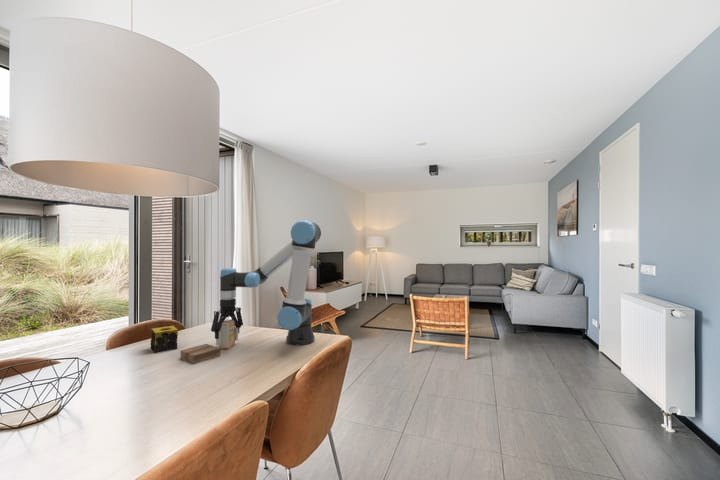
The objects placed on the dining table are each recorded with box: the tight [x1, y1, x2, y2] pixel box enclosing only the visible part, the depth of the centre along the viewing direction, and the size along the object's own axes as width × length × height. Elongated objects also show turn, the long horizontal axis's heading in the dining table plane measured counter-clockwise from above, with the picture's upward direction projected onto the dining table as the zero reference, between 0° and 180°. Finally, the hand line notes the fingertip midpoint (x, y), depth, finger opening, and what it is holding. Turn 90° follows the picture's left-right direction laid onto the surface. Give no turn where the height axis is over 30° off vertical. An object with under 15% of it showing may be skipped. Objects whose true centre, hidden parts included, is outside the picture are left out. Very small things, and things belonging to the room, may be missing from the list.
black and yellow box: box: [150, 325, 179, 354], centre depth 155 cm, size 10×10×10 cm
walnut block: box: [180, 343, 221, 365], centre depth 143 cm, size 12×12×4 cm
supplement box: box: [218, 318, 236, 350], centre depth 159 cm, size 8×5×13 cm, turn 179°
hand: (227, 342), depth 159 cm, fingers closed on supplement box, 9 cm apart
